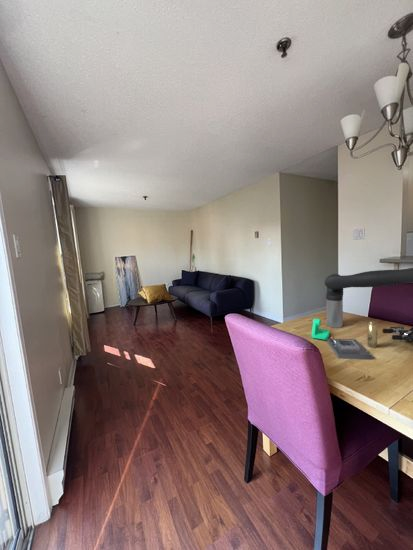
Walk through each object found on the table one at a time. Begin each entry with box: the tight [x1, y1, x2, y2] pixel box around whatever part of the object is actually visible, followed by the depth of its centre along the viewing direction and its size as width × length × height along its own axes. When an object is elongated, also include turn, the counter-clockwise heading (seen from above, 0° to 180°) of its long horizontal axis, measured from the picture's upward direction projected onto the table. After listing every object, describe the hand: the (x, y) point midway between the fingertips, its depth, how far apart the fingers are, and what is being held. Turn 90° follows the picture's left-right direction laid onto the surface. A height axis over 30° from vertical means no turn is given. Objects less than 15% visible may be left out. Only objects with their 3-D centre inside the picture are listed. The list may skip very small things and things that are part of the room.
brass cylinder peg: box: [366, 320, 378, 349], centre depth 116 cm, size 4×4×13 cm
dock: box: [326, 336, 373, 360], centre depth 114 cm, size 18×14×4 cm
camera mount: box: [311, 318, 331, 341], centre depth 132 cm, size 12×8×10 cm, turn 144°
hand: (387, 334), depth 115 cm, fingers open, 8 cm apart
